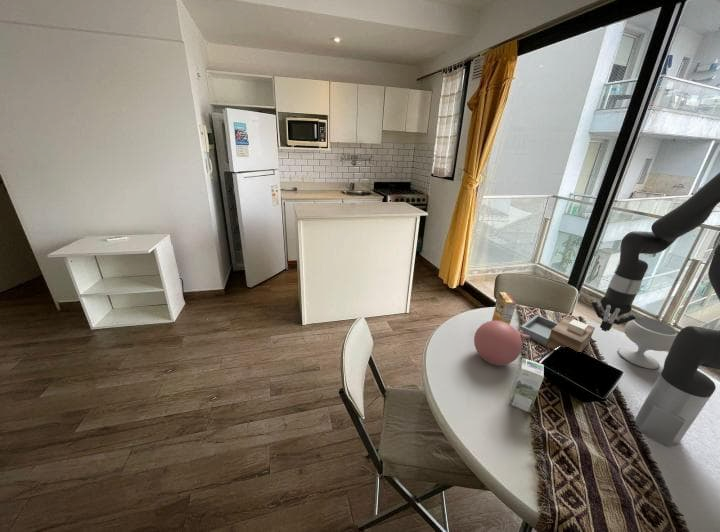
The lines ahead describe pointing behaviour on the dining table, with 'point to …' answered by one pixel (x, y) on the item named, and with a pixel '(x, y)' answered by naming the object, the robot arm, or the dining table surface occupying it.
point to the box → (538, 329)
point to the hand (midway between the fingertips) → (604, 330)
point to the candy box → (504, 308)
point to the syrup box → (526, 384)
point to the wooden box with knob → (569, 336)
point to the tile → (577, 327)
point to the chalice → (647, 340)
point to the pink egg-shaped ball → (499, 342)
